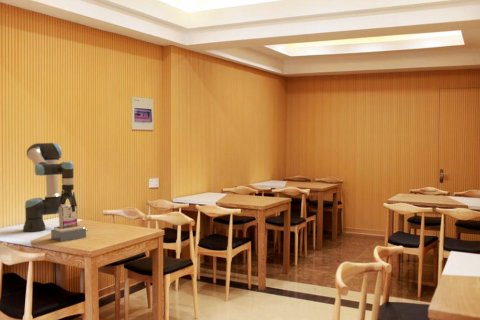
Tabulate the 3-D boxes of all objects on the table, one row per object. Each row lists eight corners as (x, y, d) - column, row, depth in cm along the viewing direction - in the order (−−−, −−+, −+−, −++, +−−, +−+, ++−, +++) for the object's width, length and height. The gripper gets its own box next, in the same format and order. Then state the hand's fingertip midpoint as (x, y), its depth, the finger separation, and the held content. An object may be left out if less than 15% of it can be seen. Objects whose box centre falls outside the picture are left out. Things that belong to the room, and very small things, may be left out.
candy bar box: (73, 227, 319) (72, 204, 318) (77, 228, 316) (77, 204, 315) (58, 230, 310) (58, 206, 309) (63, 231, 307) (62, 206, 306)
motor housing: (51, 238, 311) (51, 226, 311) (82, 233, 328) (82, 222, 328) (60, 241, 302) (60, 229, 301) (92, 236, 319) (92, 224, 318)
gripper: (54, 183, 317) (54, 213, 318) (71, 186, 300) (71, 218, 301) (64, 182, 322) (65, 211, 324) (81, 185, 305) (82, 216, 307)
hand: (68, 215), depth 313 cm, fingers open, 13 cm apart
